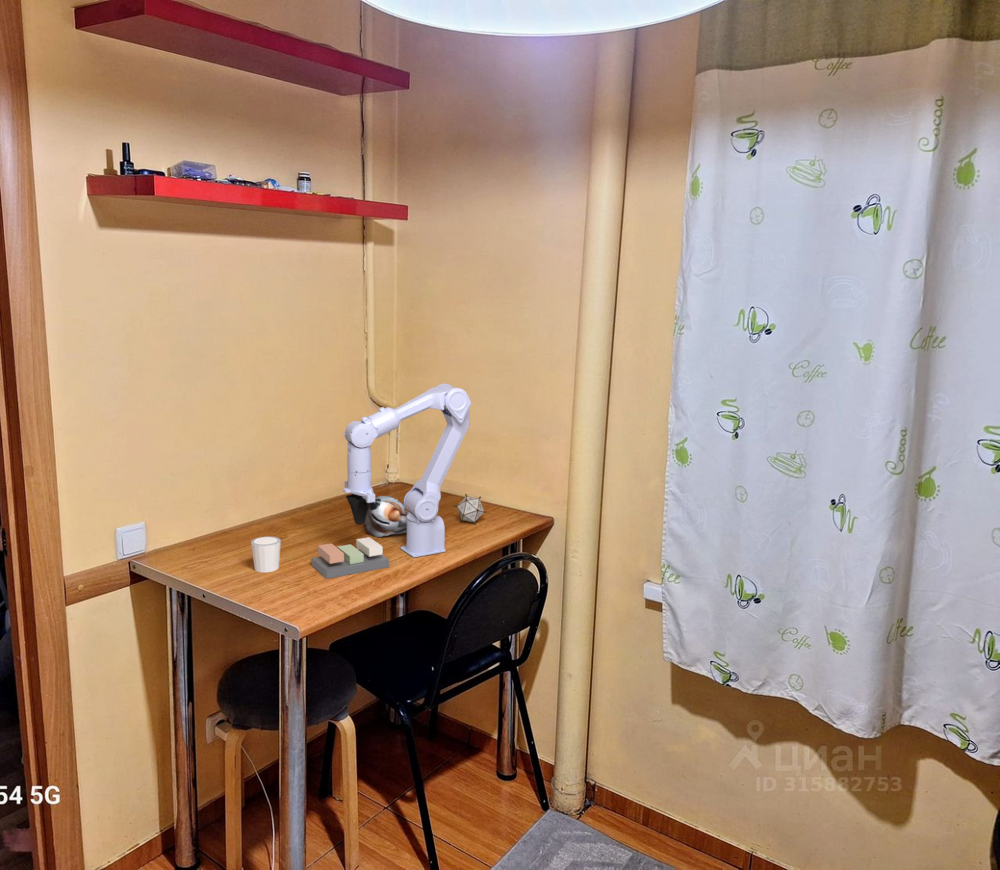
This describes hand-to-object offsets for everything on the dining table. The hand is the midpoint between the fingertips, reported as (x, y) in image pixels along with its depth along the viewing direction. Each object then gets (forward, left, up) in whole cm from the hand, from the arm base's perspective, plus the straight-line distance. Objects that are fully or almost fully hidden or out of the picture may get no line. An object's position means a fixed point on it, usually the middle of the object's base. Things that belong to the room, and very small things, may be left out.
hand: (359, 523), depth 197 cm
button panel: (+4, +4, -9) cm, 11 cm away
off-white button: (-1, +4, -6) cm, 7 cm away
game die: (-40, -13, -10) cm, 43 cm away
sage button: (+4, +3, -7) cm, 9 cm away
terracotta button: (+9, +4, -6) cm, 11 cm away
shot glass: (+22, -5, -10) cm, 25 cm away
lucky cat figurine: (-15, -15, -10) cm, 23 cm away
